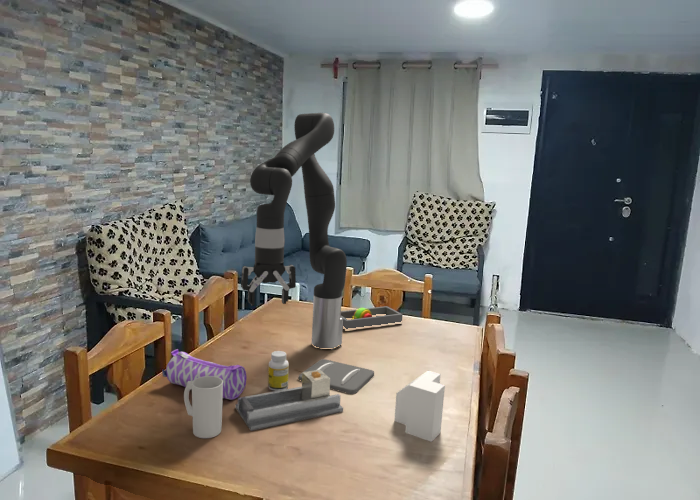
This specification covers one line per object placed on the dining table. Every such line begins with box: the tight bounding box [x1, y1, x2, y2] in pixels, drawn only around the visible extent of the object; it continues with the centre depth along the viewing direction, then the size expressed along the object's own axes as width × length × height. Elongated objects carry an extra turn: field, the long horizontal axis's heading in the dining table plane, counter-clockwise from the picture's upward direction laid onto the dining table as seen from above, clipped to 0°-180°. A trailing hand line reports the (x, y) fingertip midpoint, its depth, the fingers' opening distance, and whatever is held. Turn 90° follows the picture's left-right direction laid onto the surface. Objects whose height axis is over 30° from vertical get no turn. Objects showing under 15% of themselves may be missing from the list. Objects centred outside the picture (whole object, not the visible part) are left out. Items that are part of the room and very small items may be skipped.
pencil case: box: [162, 348, 247, 401], centre depth 144 cm, size 22×9×10 cm, turn 65°
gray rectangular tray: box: [341, 305, 403, 329], centre depth 205 cm, size 24×11×4 cm, turn 119°
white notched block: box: [394, 370, 446, 442], centre depth 131 cm, size 11×11×12 cm
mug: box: [183, 376, 224, 439], centre depth 123 cm, size 10×7×12 cm, turn 64°
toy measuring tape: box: [352, 307, 385, 319], centre depth 206 cm, size 6×19×7 cm, turn 133°
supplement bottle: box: [267, 350, 290, 392], centre depth 147 cm, size 5×5×10 cm
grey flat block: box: [297, 358, 375, 395], centre depth 156 cm, size 18×3×15 cm
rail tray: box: [235, 370, 344, 432], centre depth 135 cm, size 24×12×9 cm, turn 119°
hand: (268, 304), depth 145 cm, fingers open, 8 cm apart
